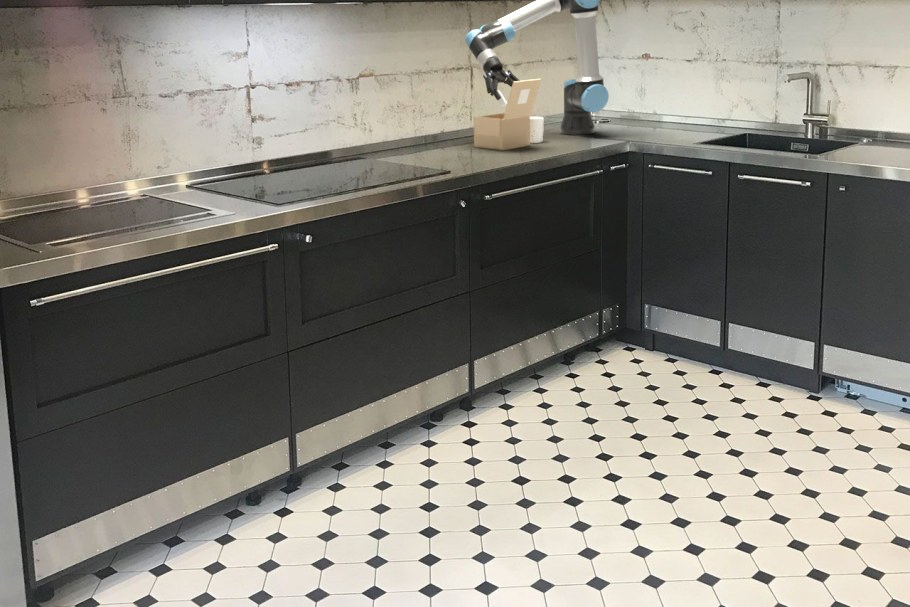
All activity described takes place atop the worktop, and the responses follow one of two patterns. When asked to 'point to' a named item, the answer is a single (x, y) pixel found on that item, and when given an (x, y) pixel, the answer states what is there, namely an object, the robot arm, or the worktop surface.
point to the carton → (501, 132)
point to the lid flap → (522, 98)
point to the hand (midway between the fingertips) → (516, 104)
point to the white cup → (536, 129)
